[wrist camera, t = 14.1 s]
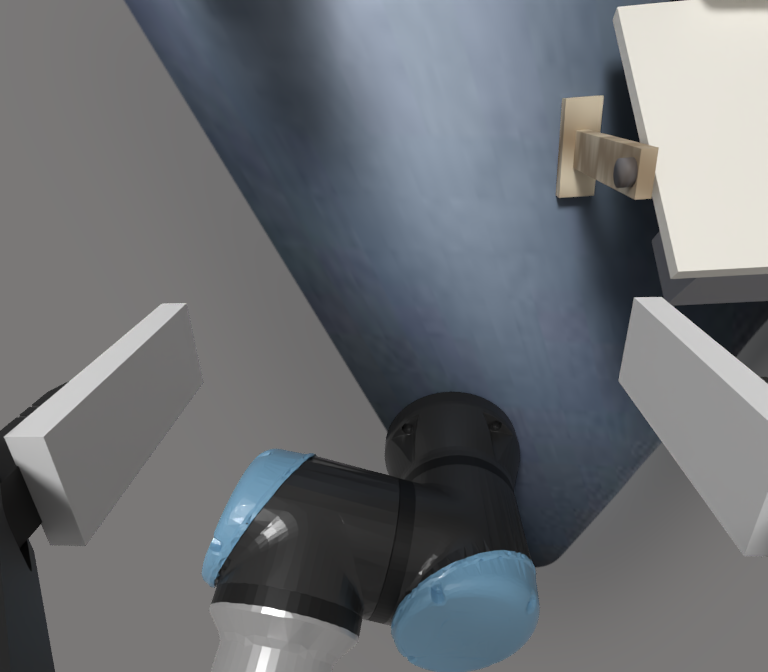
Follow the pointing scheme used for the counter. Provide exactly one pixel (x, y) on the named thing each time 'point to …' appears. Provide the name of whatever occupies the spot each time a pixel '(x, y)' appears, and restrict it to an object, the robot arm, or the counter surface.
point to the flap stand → (599, 154)
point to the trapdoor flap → (704, 141)
